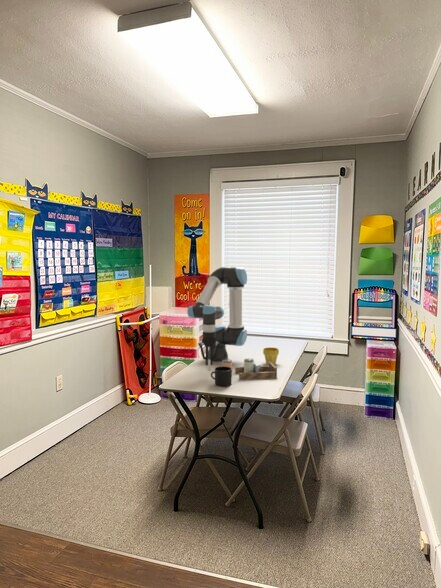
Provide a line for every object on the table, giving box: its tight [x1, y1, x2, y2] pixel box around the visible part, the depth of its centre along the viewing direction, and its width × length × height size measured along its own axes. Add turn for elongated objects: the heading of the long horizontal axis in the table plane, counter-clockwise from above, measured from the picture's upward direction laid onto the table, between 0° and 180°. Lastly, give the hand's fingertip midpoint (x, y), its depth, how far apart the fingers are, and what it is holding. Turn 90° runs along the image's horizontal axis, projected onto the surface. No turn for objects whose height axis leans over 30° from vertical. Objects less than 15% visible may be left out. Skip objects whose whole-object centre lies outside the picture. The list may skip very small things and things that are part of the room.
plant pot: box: [262, 346, 280, 365], centre depth 274 cm, size 10×10×10 cm
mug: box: [210, 366, 232, 388], centre depth 228 cm, size 9×12×9 cm
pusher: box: [254, 360, 262, 372], centre depth 246 cm, size 4×11×7 cm, turn 8°
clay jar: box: [221, 358, 233, 378], centre depth 243 cm, size 6×6×10 cm
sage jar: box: [243, 358, 255, 373], centre depth 245 cm, size 6×6×10 cm
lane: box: [234, 362, 278, 380], centre depth 246 cm, size 22×14×6 cm, turn 98°
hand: (208, 370), depth 241 cm, fingers closed
